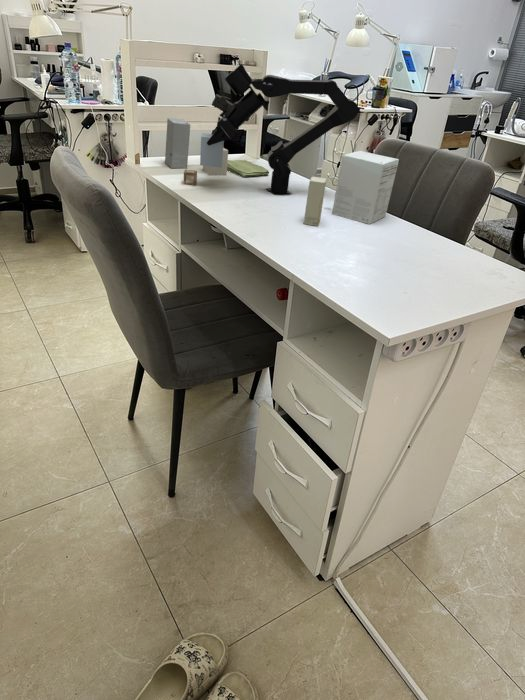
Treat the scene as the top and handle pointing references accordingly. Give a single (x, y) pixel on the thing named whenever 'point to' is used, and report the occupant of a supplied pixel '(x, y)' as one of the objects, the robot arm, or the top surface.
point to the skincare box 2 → (314, 201)
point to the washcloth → (245, 168)
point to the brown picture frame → (190, 177)
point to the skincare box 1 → (177, 143)
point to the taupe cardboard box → (218, 170)
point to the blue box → (211, 152)
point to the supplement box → (364, 186)
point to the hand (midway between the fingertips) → (208, 142)
